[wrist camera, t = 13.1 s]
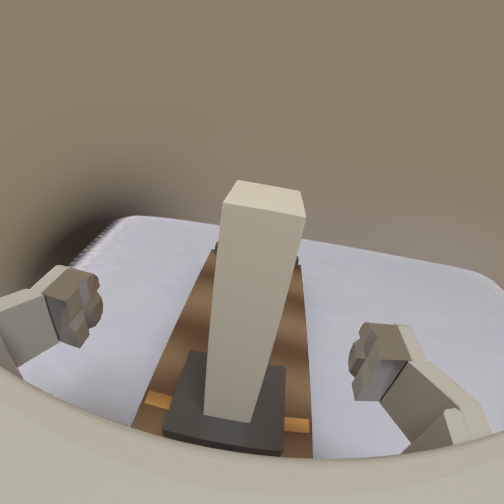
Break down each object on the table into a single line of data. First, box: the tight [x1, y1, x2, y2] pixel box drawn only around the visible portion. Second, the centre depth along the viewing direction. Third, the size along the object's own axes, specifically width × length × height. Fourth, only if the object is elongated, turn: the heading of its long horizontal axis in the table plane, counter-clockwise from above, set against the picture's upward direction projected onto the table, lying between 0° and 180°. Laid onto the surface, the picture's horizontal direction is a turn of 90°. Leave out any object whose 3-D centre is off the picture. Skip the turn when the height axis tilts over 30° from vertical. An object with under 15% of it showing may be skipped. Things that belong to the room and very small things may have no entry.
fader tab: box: [162, 180, 306, 457], centre depth 12 cm, size 6×6×12 cm
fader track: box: [131, 242, 313, 459], centre depth 20 cm, size 28×10×3 cm, turn 174°
